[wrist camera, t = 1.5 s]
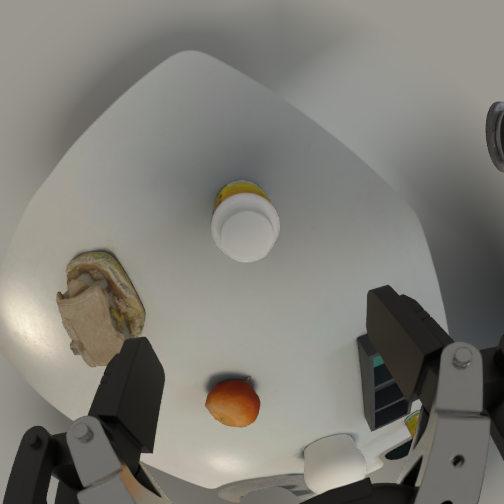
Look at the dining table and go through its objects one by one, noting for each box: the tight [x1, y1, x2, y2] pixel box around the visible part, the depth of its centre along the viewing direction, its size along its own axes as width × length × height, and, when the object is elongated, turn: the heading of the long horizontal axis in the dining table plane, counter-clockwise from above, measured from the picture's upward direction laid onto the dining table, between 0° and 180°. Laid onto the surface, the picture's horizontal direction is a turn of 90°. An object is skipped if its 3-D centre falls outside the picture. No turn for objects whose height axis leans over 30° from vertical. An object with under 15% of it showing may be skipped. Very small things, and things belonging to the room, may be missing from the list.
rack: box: [357, 334, 412, 432], centre depth 41 cm, size 9×26×4 cm, turn 19°
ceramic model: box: [56, 252, 145, 367], centre depth 28 cm, size 14×11×10 cm
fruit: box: [205, 376, 260, 427], centre depth 38 cm, size 8×8×8 cm
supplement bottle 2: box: [405, 411, 420, 438], centre depth 48 cm, size 5×5×10 cm
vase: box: [304, 434, 367, 495], centre depth 43 cm, size 14×14×20 cm
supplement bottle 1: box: [211, 180, 280, 263], centre depth 25 cm, size 6×6×10 cm
